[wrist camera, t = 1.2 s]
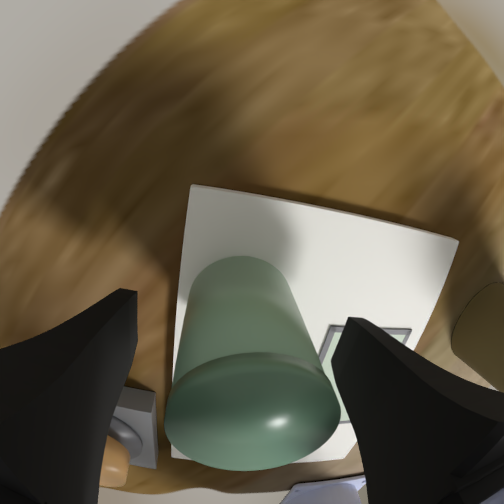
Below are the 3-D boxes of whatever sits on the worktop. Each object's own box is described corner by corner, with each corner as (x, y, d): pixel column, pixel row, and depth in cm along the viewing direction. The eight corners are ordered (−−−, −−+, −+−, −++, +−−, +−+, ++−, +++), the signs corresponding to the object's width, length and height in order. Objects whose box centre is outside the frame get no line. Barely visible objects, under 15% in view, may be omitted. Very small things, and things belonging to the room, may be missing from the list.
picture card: (341, 452, 19) (344, 459, 19) (172, 450, 17) (171, 458, 17) (452, 237, 13) (460, 242, 13) (192, 184, 11) (190, 186, 11)
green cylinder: (275, 336, 14) (309, 469, 7) (185, 325, 13) (165, 464, 6) (298, 253, 12) (368, 373, 6) (195, 237, 12) (164, 360, 5)
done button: (133, 470, 14) (130, 492, 13) (72, 454, 14) (65, 474, 12) (126, 436, 13) (120, 462, 11) (54, 416, 12) (44, 439, 11)
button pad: (158, 451, 18) (155, 472, 16) (70, 430, 16) (63, 449, 15) (155, 392, 15) (150, 417, 13) (47, 366, 14) (35, 386, 12)
